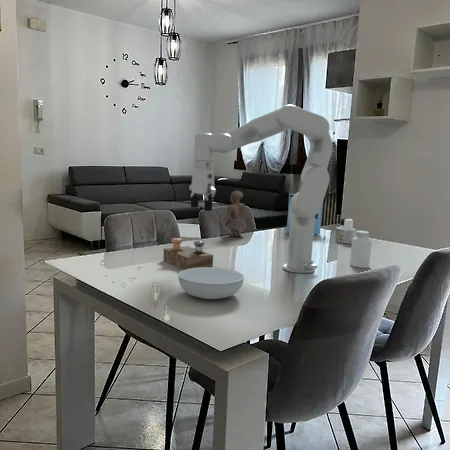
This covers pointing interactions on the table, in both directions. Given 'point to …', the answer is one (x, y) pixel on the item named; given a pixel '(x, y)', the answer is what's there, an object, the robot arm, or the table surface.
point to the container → (345, 231)
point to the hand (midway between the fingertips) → (201, 208)
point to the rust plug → (176, 244)
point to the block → (188, 258)
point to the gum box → (316, 218)
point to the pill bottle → (360, 250)
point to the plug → (198, 247)
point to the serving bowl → (210, 282)
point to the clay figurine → (236, 214)
